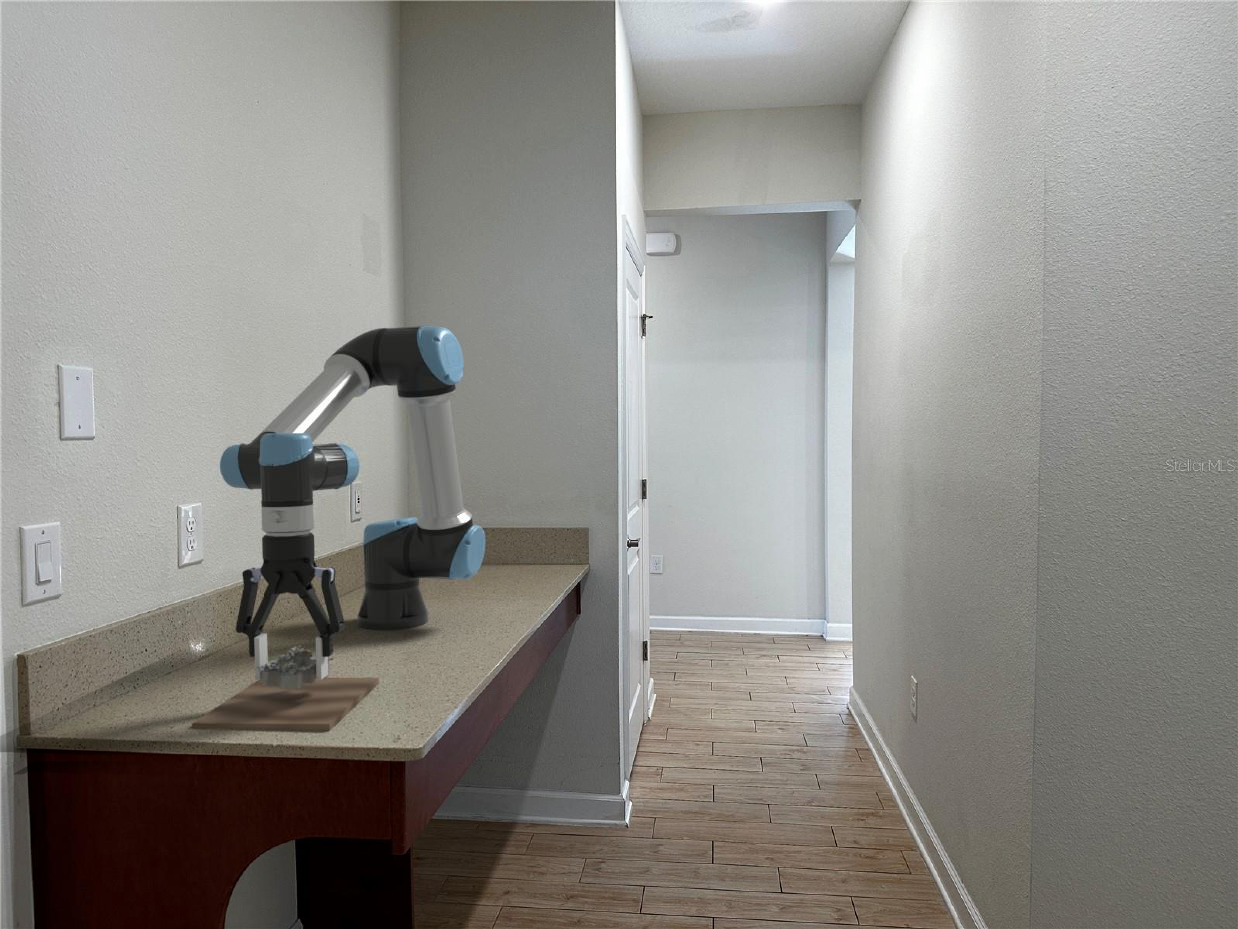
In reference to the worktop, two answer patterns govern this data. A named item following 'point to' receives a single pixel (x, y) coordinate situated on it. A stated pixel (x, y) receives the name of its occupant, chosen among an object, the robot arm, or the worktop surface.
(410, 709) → the worktop surface
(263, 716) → the walnut board
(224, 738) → the worktop surface
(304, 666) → the egg carton
